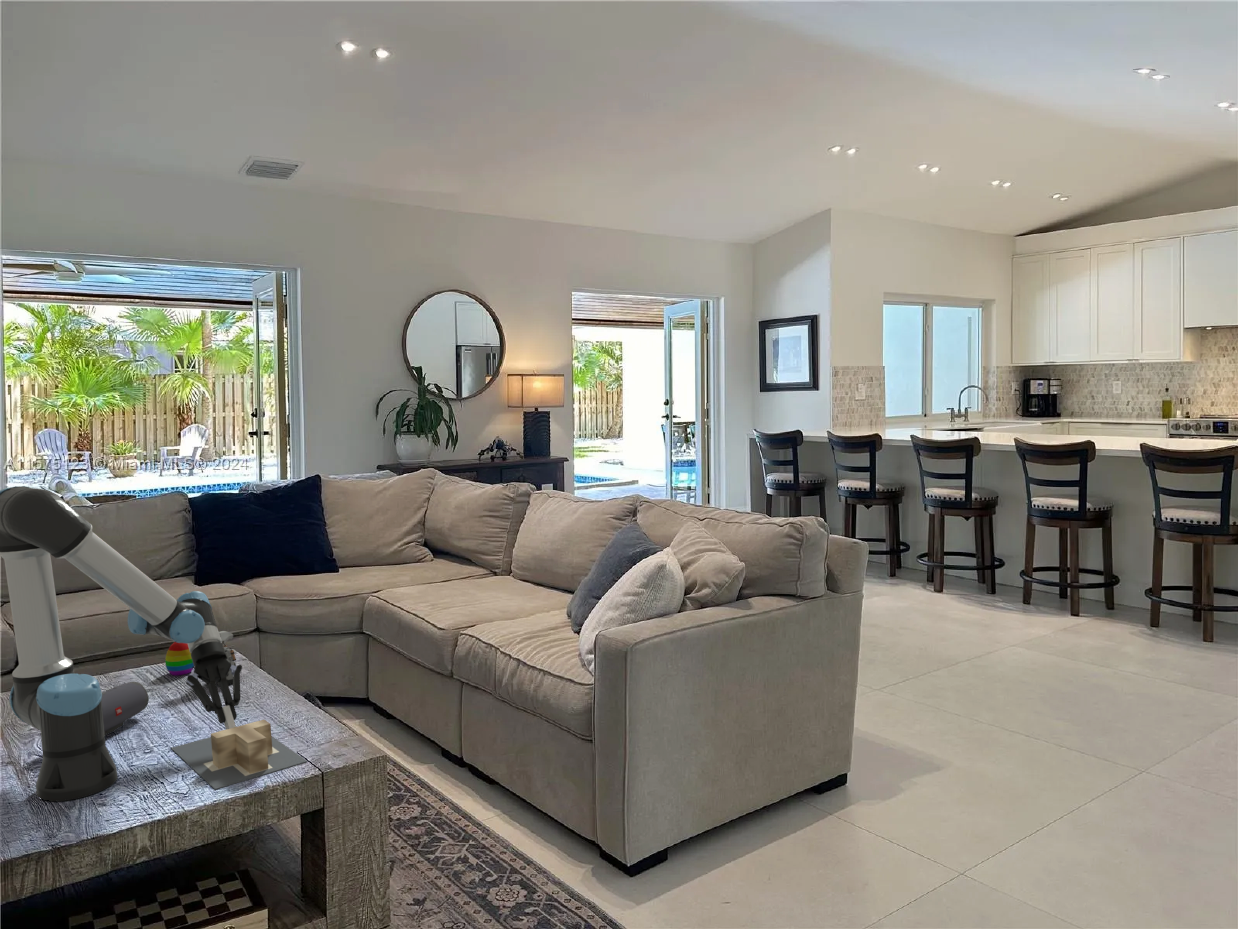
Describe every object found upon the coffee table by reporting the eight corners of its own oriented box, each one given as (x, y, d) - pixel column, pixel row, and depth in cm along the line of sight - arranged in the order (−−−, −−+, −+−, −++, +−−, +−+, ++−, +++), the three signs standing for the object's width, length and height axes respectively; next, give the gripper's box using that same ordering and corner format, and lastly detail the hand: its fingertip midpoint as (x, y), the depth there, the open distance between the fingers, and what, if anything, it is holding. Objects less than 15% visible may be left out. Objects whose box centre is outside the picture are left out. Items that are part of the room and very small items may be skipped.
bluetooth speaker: (86, 751, 220) (82, 710, 219) (52, 750, 221) (49, 709, 221) (152, 717, 242) (149, 680, 241) (121, 715, 244) (118, 679, 243)
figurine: (190, 684, 268) (186, 633, 267) (232, 675, 275) (228, 626, 274) (198, 692, 261) (193, 640, 260) (240, 682, 268) (236, 632, 267)
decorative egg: (160, 677, 277) (157, 644, 276) (177, 668, 285) (175, 636, 284) (185, 677, 275) (182, 644, 274) (201, 669, 283) (199, 637, 282)
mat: (215, 789, 195) (214, 788, 195) (171, 748, 219) (171, 747, 219) (307, 761, 208) (307, 761, 208) (256, 725, 232) (256, 725, 232)
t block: (231, 779, 200) (229, 748, 199) (213, 763, 209) (210, 733, 208) (286, 763, 208) (284, 732, 207) (266, 748, 217) (264, 719, 216)
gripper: (231, 651, 234) (257, 733, 223) (175, 662, 226) (200, 748, 214) (236, 635, 229) (263, 718, 218) (180, 645, 221) (205, 732, 210)
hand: (232, 733), depth 216 cm, fingers closed
